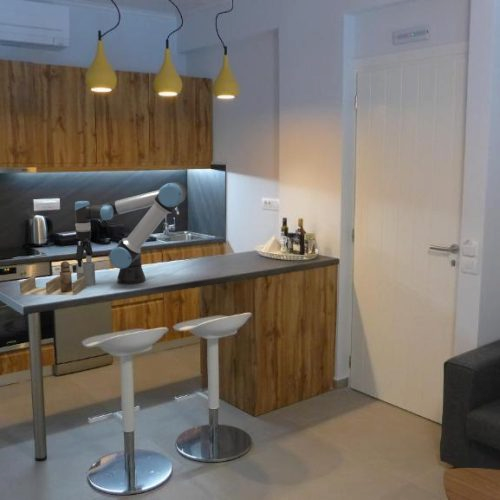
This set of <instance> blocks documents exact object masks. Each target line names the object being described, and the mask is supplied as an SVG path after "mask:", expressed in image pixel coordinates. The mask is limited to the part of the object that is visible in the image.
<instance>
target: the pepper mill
mask: <svg viewBox="0 0 500 500" xmlns="http://www.w3.org/2000/svg"><path fill="white" fill-rule="evenodd" d="M70 266H71V265H70V263H69V262H68V261H67V260H64V261H62V262H60V271H59V276H60V285H61V292H71V291H72V283H73V282H72V281H73V280H72V279H73V278H72V271H71V269H70Z"/></svg>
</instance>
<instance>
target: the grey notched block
mask: <svg viewBox="0 0 500 500" xmlns="http://www.w3.org/2000/svg"><path fill="white" fill-rule="evenodd" d="M95 265H96V264H95V262H86V261H85V262H84V261H83V271H84V273H78V262H77V263H76V264H75V266H76V267H75V268H76V280H78V279H79V278H81V277H83V276H85V282H86V288H87V287H93V286H95V285H96V268H95Z"/></svg>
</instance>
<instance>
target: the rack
mask: <svg viewBox="0 0 500 500" xmlns="http://www.w3.org/2000/svg"><path fill="white" fill-rule="evenodd" d="M86 288H87V287H86V282H85V276H83V277H81V278H79V279H78V280H77V279H76V280H75V281H73V282H72V291H71V292H61V285H60V275H57V276H56V277H54V278H52V279H50V280H49V281H47V282H46V283H45V286H44V287H39V286H37V283H36V275H32V276H31V277H29V278H26V279H24V280H23V281H21V282H19V290H20V291H19V292H20V295H19V296H23V295H25V296H28V295H29V296H30V295H31V296H43V295H45V296H46V295H47V296H48V295H49V296H50V295H51V296H76V295H77V294H79V293H80V292H82V291H83V290H84V289H86Z"/></svg>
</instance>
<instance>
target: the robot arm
mask: <svg viewBox="0 0 500 500" xmlns="http://www.w3.org/2000/svg"><path fill="white" fill-rule="evenodd" d="M187 194H188V192H187V188H186V187H185V185H184V184H183V183H181V182H178V181H173V182H169V183H165V184H164V185H162V186H161V187H160V188H159V189H157V190H153V191H149V192H144V193H140V194H138V195H133V196H129V197H125V198H122V199H117V200H115V201H110V202H106V203H103V204H98V205H97V204H94V205H93V204H92V205H91V204H90V203H91V202H90V201H89V200H78V201H75V202H74V217H75V224H74V226H75V237H76V239H77V240H79V241H76V253H75V261H76V262H77V263H78V273H84V271H83V262H84V260H83V257H84V254H85V255H86V256H85V260H86V261H85V262H92V256H94V253H93V246H92V243H91V237H92V233H91V232H92V231H91V220H101V221H102V220H103V221H107V220H112V219H113V217H114V216H119V215H121V214H125V213H130V212H133V211H138V210H142V209H147V208H149V209H148V211H147V212H146V213H145V215H144V216H143V217H142V218H141V219H140V221H139V222H138V224H137V225H136V226H135V227H134V229H133V230H132V231H131V233H129V235H128V236H127V237H124V238H122V239H121V240H119V241H118V244H117V246H115V247H113V249H112V250H111V251H110V253H109V262H110V263H111V264H112V266H113V267H114V268H117V269H119V270H118V275H117V278H116V279H117V283H119V284H123V285H132V284H133V285H134V284H136V285H137V284H142V283H144V282H145V281H146V276H145V273H144V270H143V268H142V266H143V265H142V247H143V246H144V244H145V242H146V241H148V239H150V237H151V236H152V234H153V233H154V231H155V230H156V229H157V228H158V227H159V225H160V224H161V223H162V222H163V220H164V219H165V218H166V217H167V215H168V214H172V213H173V212H174V211H175V210H176V208H177V207H178V206H179V205H180V204H182V203H184V201H185V200H186V198H187ZM92 263H93V262H92Z"/></svg>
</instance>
